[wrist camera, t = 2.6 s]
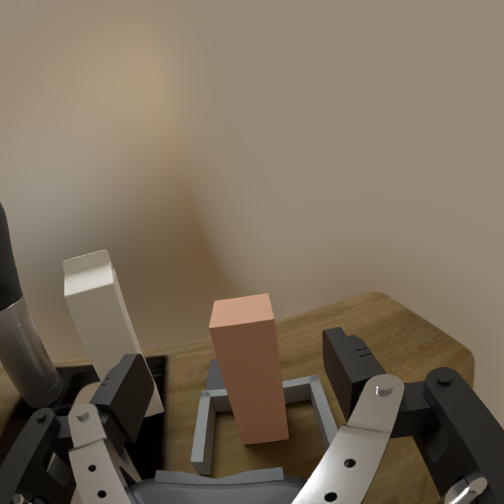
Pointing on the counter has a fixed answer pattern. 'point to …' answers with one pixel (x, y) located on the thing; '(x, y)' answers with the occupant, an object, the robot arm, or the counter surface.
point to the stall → (220, 402)
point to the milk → (101, 315)
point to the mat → (215, 376)
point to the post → (250, 366)
